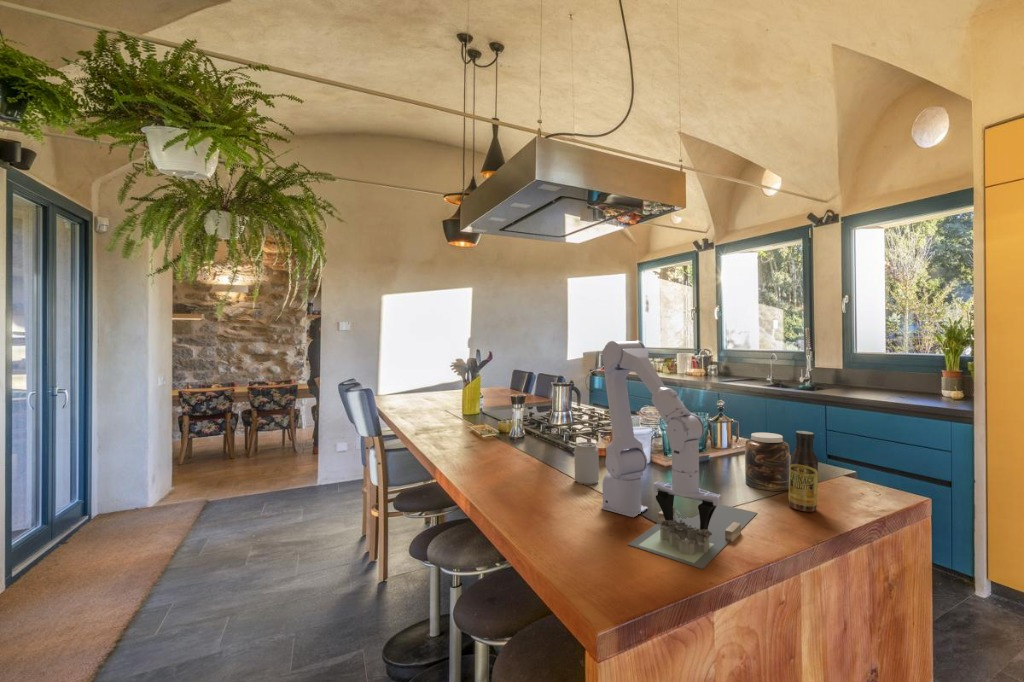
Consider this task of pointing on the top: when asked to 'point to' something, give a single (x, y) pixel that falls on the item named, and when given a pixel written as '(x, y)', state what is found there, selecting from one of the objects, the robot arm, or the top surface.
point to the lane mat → (717, 527)
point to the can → (586, 463)
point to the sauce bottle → (803, 474)
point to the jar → (767, 462)
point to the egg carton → (685, 536)
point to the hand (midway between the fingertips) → (686, 529)
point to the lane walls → (730, 532)
